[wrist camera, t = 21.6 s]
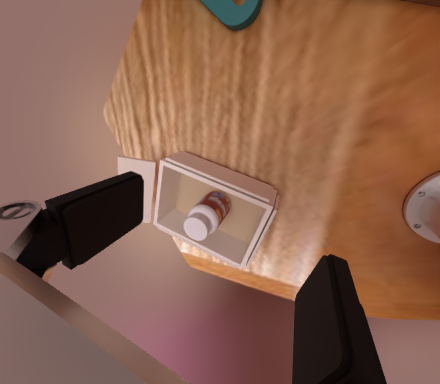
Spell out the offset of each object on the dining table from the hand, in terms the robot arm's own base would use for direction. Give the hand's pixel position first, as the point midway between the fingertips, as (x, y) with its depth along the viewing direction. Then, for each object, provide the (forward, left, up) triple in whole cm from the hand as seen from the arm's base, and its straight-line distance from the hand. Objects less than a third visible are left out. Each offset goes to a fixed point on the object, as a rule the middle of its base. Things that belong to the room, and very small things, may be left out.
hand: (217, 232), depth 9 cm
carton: (+7, +16, -28) cm, 33 cm away
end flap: (+18, +16, -20) cm, 31 cm away
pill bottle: (+6, +16, -27) cm, 32 cm away
